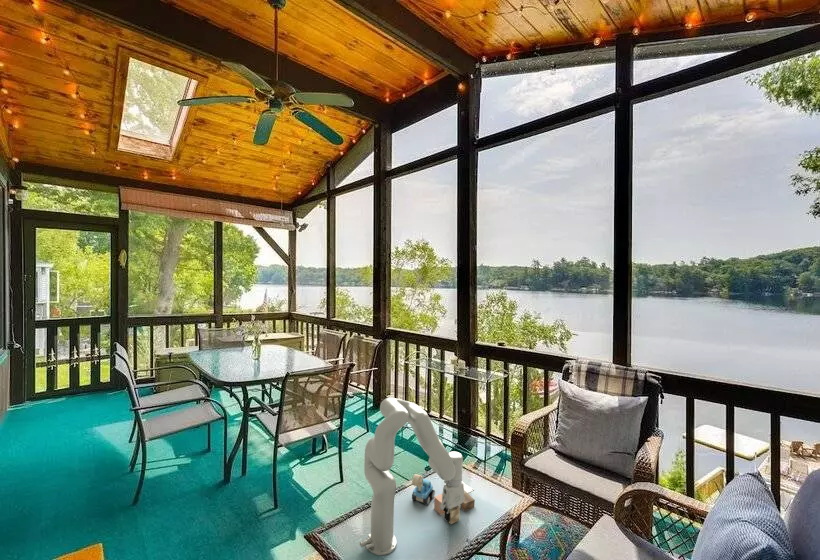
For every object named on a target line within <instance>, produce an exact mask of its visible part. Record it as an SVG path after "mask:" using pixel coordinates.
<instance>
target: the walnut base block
mask: <svg viewBox="0 0 820 560" xmlns="http://www.w3.org/2000/svg"><path fill="white" fill-rule="evenodd" d="M464 497H465V499H464V502H463V503H462V504H461V508H460V509H462V510H463V511H464V512H466V511H468V510H469V511H470V510H471V509H473V508H475V505H476V504H475V500H476V499H474V498H473V497H472V496H471V495H470V494H469V493H465V494H464Z"/></svg>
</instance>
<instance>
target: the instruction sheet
mask: <svg viewBox="0 0 820 560" xmlns="http://www.w3.org/2000/svg"><path fill="white" fill-rule="evenodd" d="M462 482H463V486H464V494H465V493H467V494H469V493H471V492H473V490H474V489H473V487H471V486H470V485H468V484H466V483H465V482H464V481H463V480H462ZM472 489H473V490H472Z"/></svg>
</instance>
